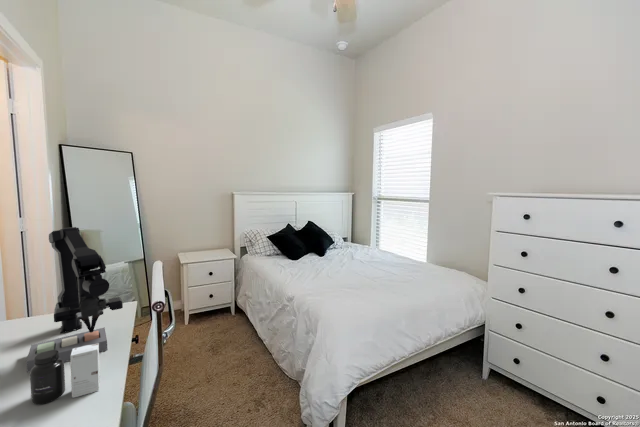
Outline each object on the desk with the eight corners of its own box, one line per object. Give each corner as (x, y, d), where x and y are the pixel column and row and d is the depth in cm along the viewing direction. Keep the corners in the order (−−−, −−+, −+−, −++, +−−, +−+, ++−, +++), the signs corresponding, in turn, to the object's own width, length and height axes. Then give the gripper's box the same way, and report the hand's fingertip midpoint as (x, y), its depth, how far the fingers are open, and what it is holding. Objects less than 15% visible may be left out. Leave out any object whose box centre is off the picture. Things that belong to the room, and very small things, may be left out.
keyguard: (32, 354, 99) (31, 344, 99) (105, 336, 112) (104, 327, 112) (27, 372, 90) (26, 361, 90) (107, 349, 103) (106, 340, 102)
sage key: (38, 352, 97) (37, 345, 97) (54, 348, 100) (54, 341, 100) (37, 357, 94) (36, 350, 94) (53, 353, 97) (53, 346, 97)
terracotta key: (84, 340, 105) (84, 333, 105) (98, 337, 108) (98, 330, 107) (85, 345, 102) (84, 338, 102) (99, 341, 104) (99, 334, 104)
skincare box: (71, 399, 79) (68, 356, 78) (73, 389, 83) (71, 348, 82) (100, 390, 83) (97, 349, 82) (101, 381, 86) (98, 342, 85)
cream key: (62, 346, 101) (62, 339, 101) (77, 342, 104) (77, 335, 104) (62, 351, 98) (61, 344, 98) (77, 347, 101) (77, 340, 100)
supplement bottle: (36, 409, 75) (33, 365, 74) (28, 399, 79) (24, 356, 78) (70, 393, 81) (67, 352, 80) (60, 384, 85) (57, 345, 84)
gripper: (51, 302, 91) (54, 351, 92) (123, 290, 103) (125, 332, 104) (53, 292, 99) (56, 336, 101) (119, 281, 111) (121, 321, 113)
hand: (91, 332), depth 104 cm, fingers closed
